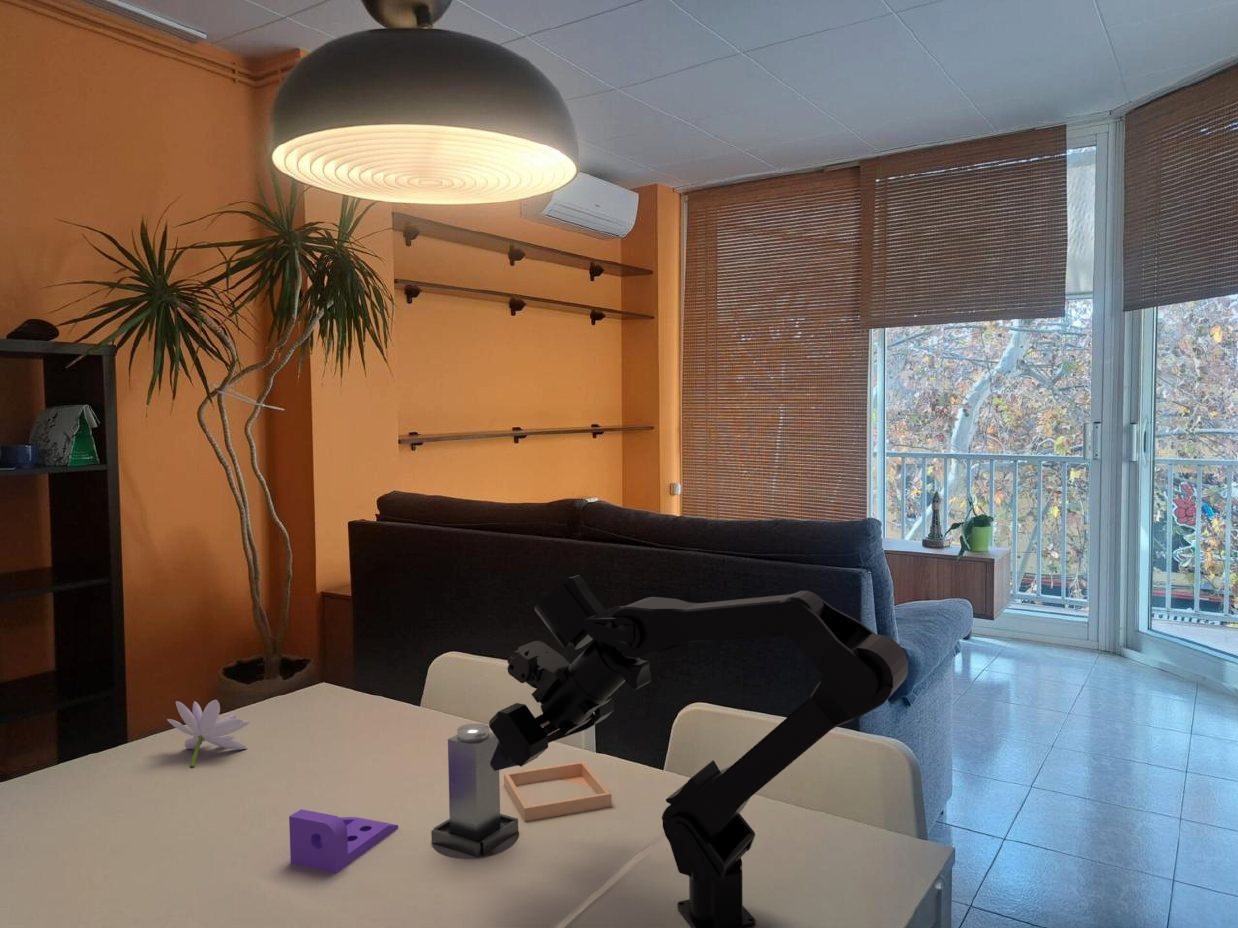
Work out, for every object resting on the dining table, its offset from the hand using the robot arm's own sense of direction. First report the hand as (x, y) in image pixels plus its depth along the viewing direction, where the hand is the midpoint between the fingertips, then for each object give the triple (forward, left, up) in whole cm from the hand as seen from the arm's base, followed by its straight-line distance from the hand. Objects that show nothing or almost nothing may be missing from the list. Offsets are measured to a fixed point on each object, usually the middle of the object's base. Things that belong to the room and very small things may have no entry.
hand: (516, 753), depth 107 cm
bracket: (+9, +20, -13) cm, 26 cm away
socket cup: (+5, +4, -13) cm, 15 cm away
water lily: (+50, +38, -13) cm, 65 cm away
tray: (+13, -9, -13) cm, 20 cm away
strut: (+5, +4, -12) cm, 14 cm away
